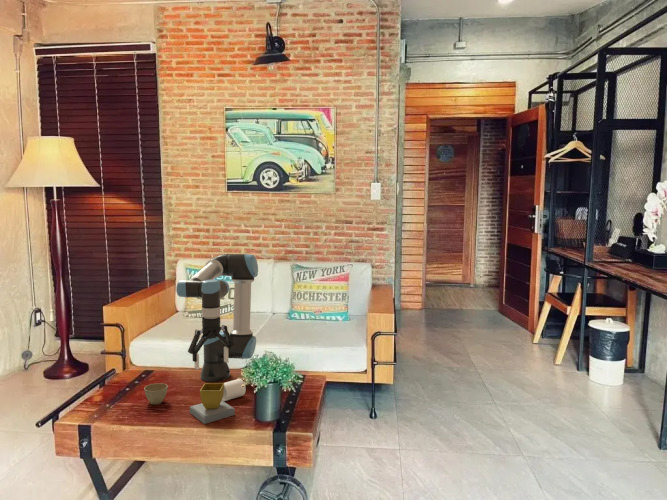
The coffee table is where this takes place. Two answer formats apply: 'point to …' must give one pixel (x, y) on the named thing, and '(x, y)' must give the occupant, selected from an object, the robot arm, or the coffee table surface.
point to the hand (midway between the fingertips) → (211, 365)
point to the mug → (233, 389)
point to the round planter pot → (156, 392)
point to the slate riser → (212, 412)
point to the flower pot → (212, 395)
